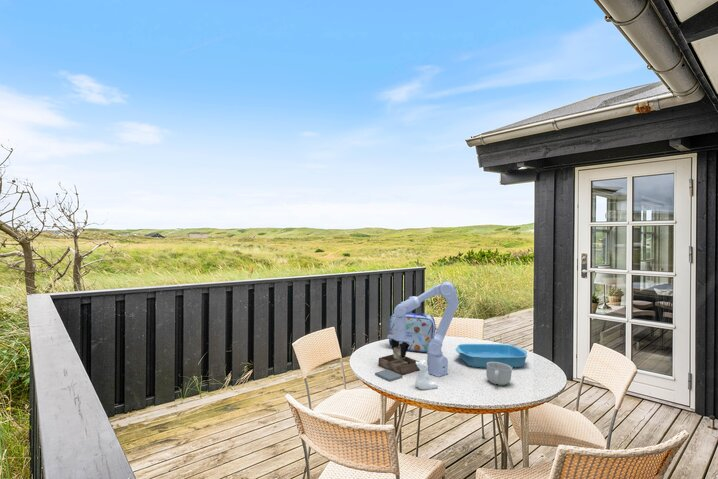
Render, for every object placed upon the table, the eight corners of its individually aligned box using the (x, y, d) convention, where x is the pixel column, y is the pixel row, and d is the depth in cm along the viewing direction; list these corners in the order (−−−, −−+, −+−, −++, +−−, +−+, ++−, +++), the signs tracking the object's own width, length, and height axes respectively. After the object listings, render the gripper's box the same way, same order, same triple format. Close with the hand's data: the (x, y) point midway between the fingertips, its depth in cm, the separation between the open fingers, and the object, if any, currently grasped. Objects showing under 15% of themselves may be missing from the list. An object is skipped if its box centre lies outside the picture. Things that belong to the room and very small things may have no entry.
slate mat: (402, 377, 170) (402, 375, 170) (389, 381, 165) (389, 379, 165) (387, 371, 178) (387, 369, 178) (374, 374, 173) (374, 372, 173)
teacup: (491, 376, 175) (491, 359, 175) (514, 382, 168) (515, 365, 168) (479, 385, 164) (480, 367, 164) (504, 392, 157) (505, 373, 157)
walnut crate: (420, 369, 181) (420, 361, 181) (401, 375, 173) (401, 367, 173) (396, 360, 193) (397, 353, 193) (378, 365, 185) (378, 357, 185)
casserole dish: (463, 370, 183) (463, 355, 183) (449, 355, 205) (450, 342, 205) (535, 370, 185) (536, 356, 185) (515, 356, 207) (515, 343, 207)
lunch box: (437, 349, 215) (438, 311, 215) (435, 355, 205) (436, 315, 205) (390, 344, 223) (391, 308, 223) (387, 349, 213) (388, 311, 213)
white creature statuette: (439, 388, 160) (439, 360, 160) (427, 393, 154) (427, 364, 154) (421, 381, 167) (422, 354, 167) (409, 386, 161) (409, 358, 161)
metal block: (405, 358, 183) (405, 348, 183) (399, 359, 180) (399, 349, 180) (399, 356, 186) (399, 346, 186) (393, 357, 183) (393, 347, 183)
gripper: (416, 330, 181) (416, 358, 181) (394, 324, 191) (393, 351, 191) (408, 332, 176) (407, 361, 176) (384, 326, 186) (384, 353, 186)
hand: (399, 356), depth 183 cm, fingers closed on metal block, 4 cm apart
